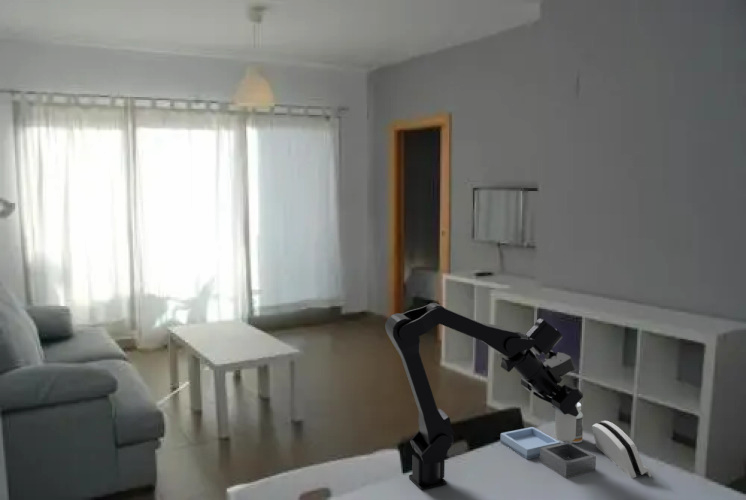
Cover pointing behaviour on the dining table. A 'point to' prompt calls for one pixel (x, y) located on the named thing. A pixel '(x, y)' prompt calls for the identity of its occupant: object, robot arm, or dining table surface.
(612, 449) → the white black arched block
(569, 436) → the beverage can
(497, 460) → the dining table surface
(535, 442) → the tray
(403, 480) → the dining table surface
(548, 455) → the short square tube
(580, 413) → the pill bottle
